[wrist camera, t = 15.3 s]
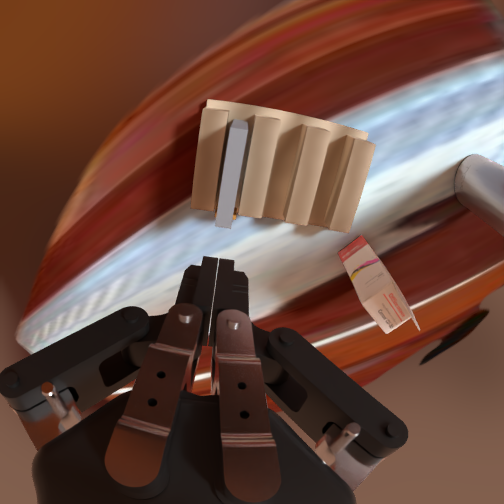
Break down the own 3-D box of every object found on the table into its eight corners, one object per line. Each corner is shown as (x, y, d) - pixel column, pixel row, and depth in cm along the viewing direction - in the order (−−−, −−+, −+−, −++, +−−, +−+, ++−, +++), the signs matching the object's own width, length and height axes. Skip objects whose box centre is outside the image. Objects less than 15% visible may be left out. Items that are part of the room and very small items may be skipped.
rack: (365, 131, 34) (377, 137, 31) (338, 226, 41) (346, 239, 38) (208, 99, 32) (204, 100, 28) (194, 203, 39) (189, 215, 35)
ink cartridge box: (335, 253, 43) (367, 321, 31) (361, 233, 42) (403, 295, 29) (362, 285, 47) (393, 351, 34) (385, 268, 45) (424, 330, 32)
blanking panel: (247, 121, 33) (248, 130, 25) (233, 197, 38) (230, 228, 30) (234, 119, 32) (230, 127, 25) (221, 195, 37) (215, 226, 30)
